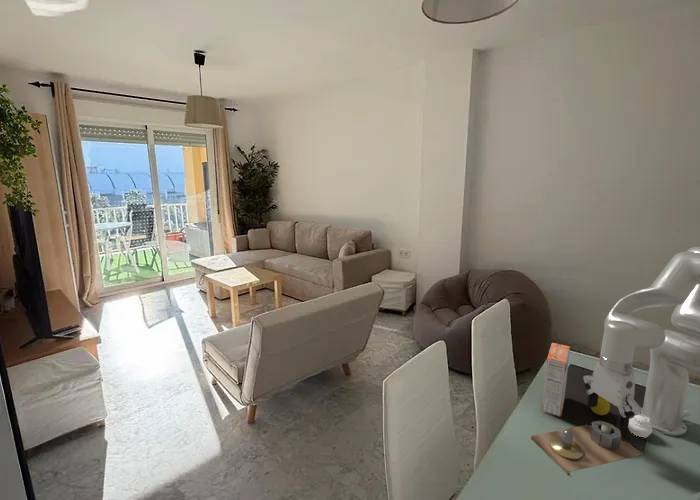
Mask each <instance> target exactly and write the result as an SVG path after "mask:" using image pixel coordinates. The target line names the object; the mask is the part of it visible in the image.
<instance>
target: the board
mask: <svg viewBox="0 0 700 500" xmlns="http://www.w3.org/2000/svg"><path fill="white" fill-rule="evenodd" d="M587 425H588V424H584V425H580V426H579V425H578V426H575V427H570V428H564V429H558V430H554V431H550V432H549V431H548V432H544V433H540V434H539V433H538V434H535V435H531V437H530V440H531V441H532V442H533V443H535V444H536V445H537V446H538V447H539V448H540V449H541V450H542V451H543V452H544V453H545V454H546V455H547V457H549V459H551V460H552V461H553V462H554V463H555V464H556V465H557V466H558V467H559V468H560V469H561V470H562V471H563V472H564V473H565V474H567V475H568V476H569V475H571V473H570V472H575V471H578V470H583V469H588V468H591V467H595V466H596V467H597V466H600V465H603V464H608V463H609V464H610V463H613V462H617V461H621V460H625V459H629V458H630V459H631V458H635V457H638V456H642V455H644V453H643V452H642V451H640V450H639V449H637V448H636V447H634V446H633V445H632V444H630V442H628V441H626V440H625V441H626V442H625V441H622V440H621V441H620V447H619V448H618V449H613V450H610V449H607V448H604V447H601V446H599V445H597V444H596V443H595V442H594V441H592V440H591V435H590V433H591V425H590V426H587ZM611 428H612V427H611V426H610V425H608V424H605V423H603V424H602V426H601V431H603V432H605V433H608V434H611ZM564 430H569V431H571V432H572V434H573V441H574V442H576V443H577V444H578V445H580V447H581V448H582V450H583V457H582V458H581V459H579V460H569V459H566V458H563V457H561V456H559V455H557V454H556V453H555V452H554V451H553V450H552V449H551V447H550V439H551V438H553V437H557V436H560V437H562V433H563V431H564ZM627 442H628V443H627Z"/></svg>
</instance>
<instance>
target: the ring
mask: <svg viewBox="0 0 700 500" xmlns="http://www.w3.org/2000/svg"><path fill="white" fill-rule="evenodd" d="M603 423H605V424H608V425H610V426H611V427H612V428H611V434H608V433H605V432H603V431H601V426H602V424H603ZM591 424H592V426H591V433H590V435H591V440H592V441H594V442H595V443H596V444H597V445H599V446H601V447H604V448H607V449H610V450H613V449H618V448H619V447H620V441H621V438H622V434H621V433H622V432H621V430H620V429H619V428H617V426H615V425H613V424H611V423H609V422H606V421H602V420H597V421H595V420H594V421H592V422H591Z"/></svg>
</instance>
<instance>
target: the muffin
mask: <svg viewBox="0 0 700 500" xmlns="http://www.w3.org/2000/svg"><path fill="white" fill-rule="evenodd" d="M627 428H628V430H629V432H630V433H631V434H632V433H633V434H634V435H633V434H632V435H633V436H635V435H636V436H635V437H637V436H639V437H644V438H643V439H647V438H648V437H650V435H651V434H652V433H653V427H651V426H650V425H649V423H648V420H647V419H646V418H645V417H643V416H641V415H635V416H632V417H630V419H629V424H628V426H627ZM639 437H638V438H639Z"/></svg>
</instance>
